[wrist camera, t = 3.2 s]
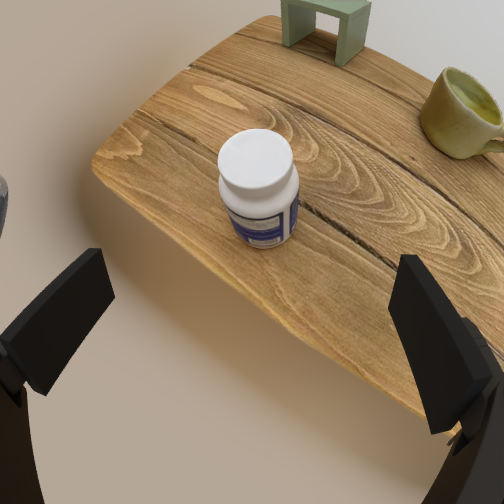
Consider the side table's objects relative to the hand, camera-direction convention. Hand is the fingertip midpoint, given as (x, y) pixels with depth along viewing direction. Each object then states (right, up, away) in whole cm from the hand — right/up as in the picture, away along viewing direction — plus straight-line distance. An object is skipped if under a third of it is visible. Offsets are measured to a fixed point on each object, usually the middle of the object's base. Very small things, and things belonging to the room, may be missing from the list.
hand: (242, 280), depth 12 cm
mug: (+26, +15, +16) cm, 34 cm away
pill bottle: (+2, +4, +15) cm, 15 cm away
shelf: (+11, +32, +23) cm, 41 cm away
